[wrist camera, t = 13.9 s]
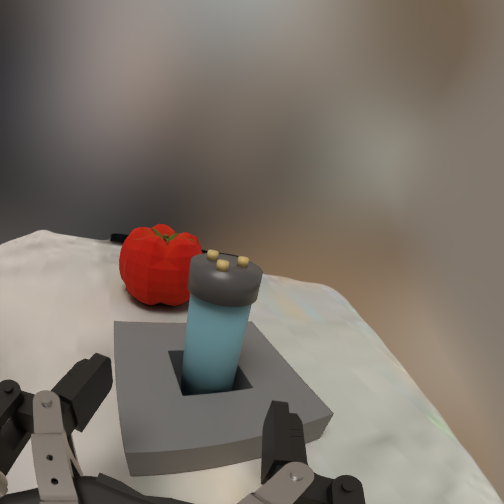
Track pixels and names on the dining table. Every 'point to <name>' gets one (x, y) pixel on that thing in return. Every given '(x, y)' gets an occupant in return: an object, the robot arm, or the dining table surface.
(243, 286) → the plug
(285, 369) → the socket block
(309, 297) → the dining table surface
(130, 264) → the tomato
